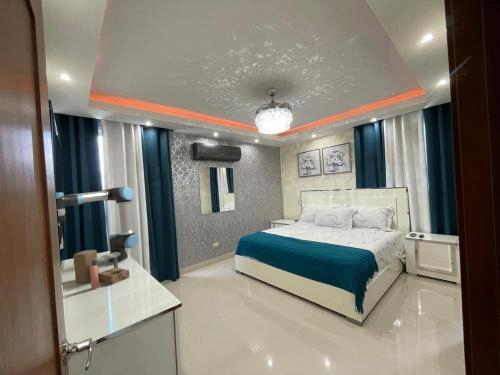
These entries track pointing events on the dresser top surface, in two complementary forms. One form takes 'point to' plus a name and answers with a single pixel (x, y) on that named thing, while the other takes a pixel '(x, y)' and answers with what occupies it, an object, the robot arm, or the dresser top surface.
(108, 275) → the socket station
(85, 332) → the dresser top surface
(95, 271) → the peg
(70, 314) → the dresser top surface
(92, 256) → the wooden block
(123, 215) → the robot arm
